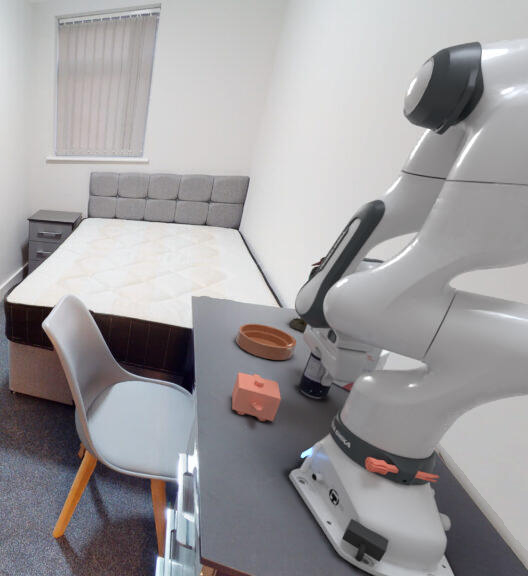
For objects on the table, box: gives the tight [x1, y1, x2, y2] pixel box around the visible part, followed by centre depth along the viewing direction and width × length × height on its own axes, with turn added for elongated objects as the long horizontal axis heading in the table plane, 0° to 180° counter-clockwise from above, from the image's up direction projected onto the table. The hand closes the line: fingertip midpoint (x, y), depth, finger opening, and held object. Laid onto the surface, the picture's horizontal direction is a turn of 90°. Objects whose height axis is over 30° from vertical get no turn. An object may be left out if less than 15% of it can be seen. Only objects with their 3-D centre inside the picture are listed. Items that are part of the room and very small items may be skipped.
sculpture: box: [288, 256, 326, 333], centre depth 117 cm, size 8×14×25 cm, turn 126°
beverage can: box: [298, 347, 334, 399], centre depth 89 cm, size 6×6×12 cm
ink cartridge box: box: [332, 347, 391, 392], centre depth 91 cm, size 9×5×15 cm, turn 25°
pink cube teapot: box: [231, 371, 282, 422], centre depth 83 cm, size 8×12×8 cm, turn 151°
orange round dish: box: [235, 323, 297, 361], centre depth 109 cm, size 14×14×4 cm
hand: (318, 375), depth 89 cm, fingers closed on beverage can, 5 cm apart
